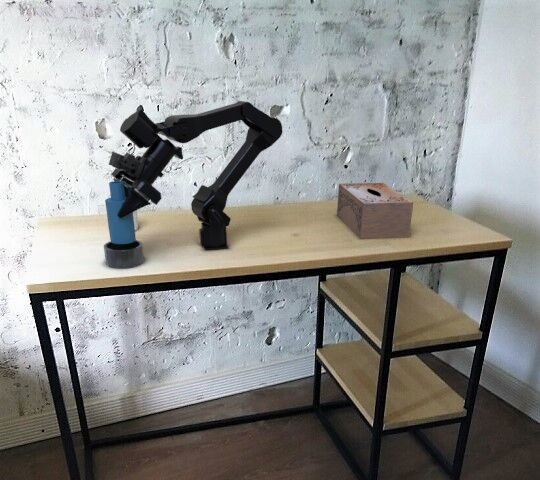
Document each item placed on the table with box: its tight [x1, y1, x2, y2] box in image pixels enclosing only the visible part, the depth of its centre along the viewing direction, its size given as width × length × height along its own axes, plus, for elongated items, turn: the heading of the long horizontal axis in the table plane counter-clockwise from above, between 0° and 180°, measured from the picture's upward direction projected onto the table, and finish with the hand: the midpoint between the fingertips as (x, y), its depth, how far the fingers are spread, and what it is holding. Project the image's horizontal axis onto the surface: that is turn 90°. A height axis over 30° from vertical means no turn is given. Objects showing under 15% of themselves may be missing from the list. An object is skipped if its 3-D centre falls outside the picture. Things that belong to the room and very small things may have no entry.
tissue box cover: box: [336, 182, 414, 240], centre depth 169 cm, size 26×14×10 cm, turn 9°
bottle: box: [104, 180, 137, 244], centre depth 134 cm, size 6×6×14 cm
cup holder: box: [103, 239, 145, 270], centre depth 138 cm, size 9×9×4 cm
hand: (114, 213), depth 133 cm, fingers closed on bottle, 6 cm apart
